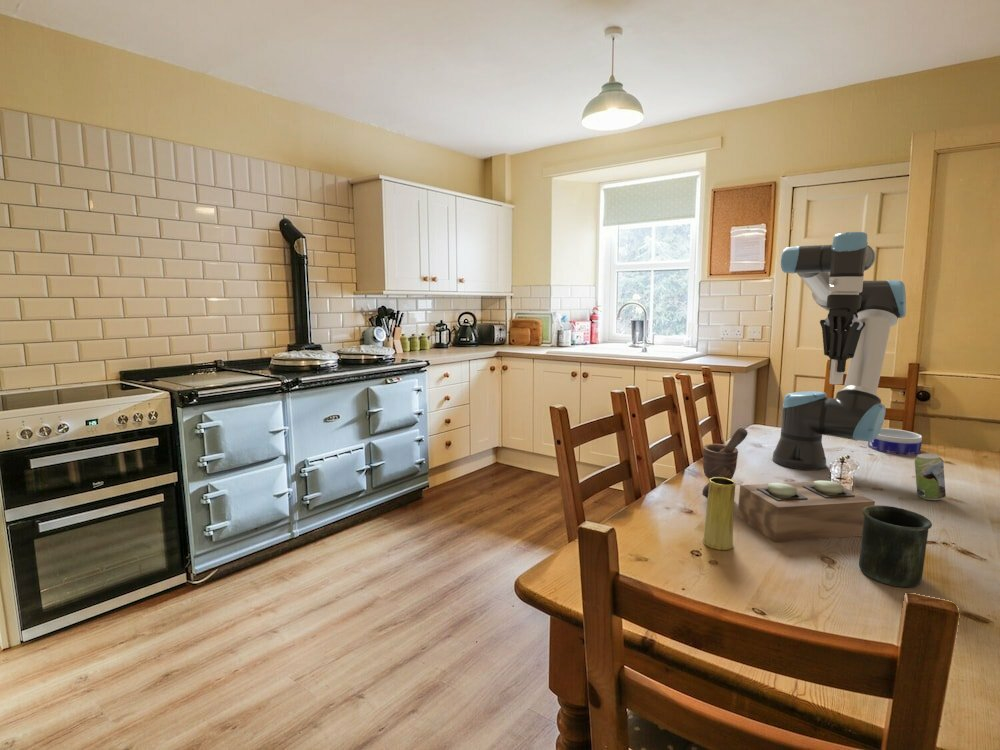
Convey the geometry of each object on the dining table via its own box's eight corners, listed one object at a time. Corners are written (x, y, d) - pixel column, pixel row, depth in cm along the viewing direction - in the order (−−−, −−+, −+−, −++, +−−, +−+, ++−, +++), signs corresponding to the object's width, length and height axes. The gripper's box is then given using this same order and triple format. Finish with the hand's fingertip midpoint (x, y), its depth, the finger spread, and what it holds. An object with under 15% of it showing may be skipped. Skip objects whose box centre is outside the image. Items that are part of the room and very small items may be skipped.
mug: (854, 578, 105) (860, 518, 103) (858, 550, 117) (864, 496, 115) (925, 596, 99) (933, 533, 97) (922, 564, 111) (929, 508, 109)
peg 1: (759, 515, 130) (762, 483, 129) (782, 514, 131) (785, 482, 130) (776, 526, 124) (779, 492, 123) (799, 524, 125) (803, 491, 124)
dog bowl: (857, 444, 201) (858, 428, 200) (895, 443, 203) (897, 427, 202) (890, 456, 186) (892, 439, 185) (931, 455, 188) (934, 438, 187)
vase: (730, 553, 115) (735, 487, 113) (699, 546, 118) (704, 482, 116) (735, 542, 120) (739, 479, 118) (706, 535, 123) (710, 474, 121)
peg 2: (805, 512, 132) (808, 481, 131) (827, 511, 133) (830, 479, 132) (823, 523, 126) (826, 489, 125) (846, 521, 127) (849, 488, 126)
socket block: (737, 516, 134) (740, 484, 133) (825, 511, 138) (828, 479, 137) (775, 542, 120) (778, 505, 119) (871, 535, 124) (875, 500, 123)
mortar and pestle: (751, 498, 146) (756, 424, 144) (738, 506, 140) (744, 430, 137) (708, 487, 154) (713, 417, 151) (695, 495, 148) (699, 422, 145)
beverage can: (950, 503, 143) (955, 459, 142) (918, 501, 145) (923, 457, 143) (936, 495, 150) (941, 452, 148) (905, 492, 151) (911, 450, 149)
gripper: (813, 293, 148) (805, 380, 151) (851, 293, 135) (842, 388, 139) (838, 293, 149) (829, 379, 153) (878, 294, 136) (868, 387, 140)
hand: (835, 383), depth 146 cm, fingers closed
